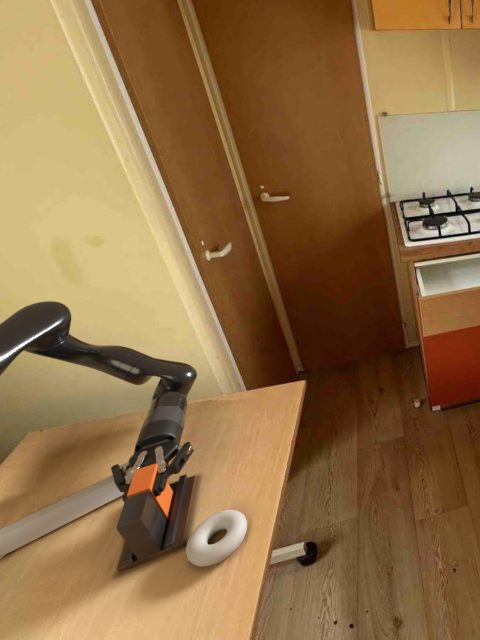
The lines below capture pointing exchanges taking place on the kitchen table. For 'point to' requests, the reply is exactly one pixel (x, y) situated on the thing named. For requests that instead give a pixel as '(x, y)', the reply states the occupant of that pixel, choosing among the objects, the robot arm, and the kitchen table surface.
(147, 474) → the orange rectangular block
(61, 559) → the kitchen table surface
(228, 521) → the donut
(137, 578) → the kitchen table surface
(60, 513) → the tube
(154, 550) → the dark brown slotted holder
